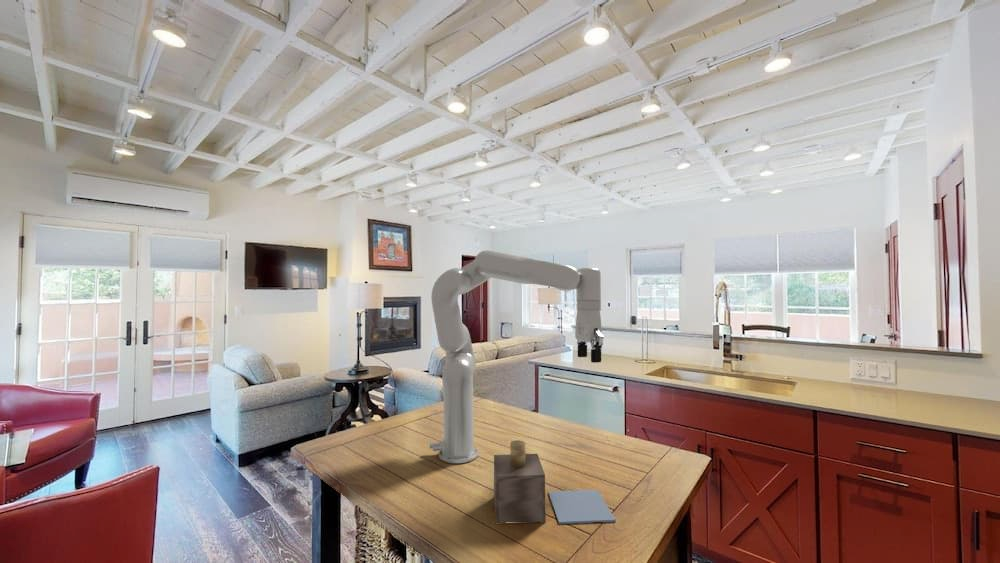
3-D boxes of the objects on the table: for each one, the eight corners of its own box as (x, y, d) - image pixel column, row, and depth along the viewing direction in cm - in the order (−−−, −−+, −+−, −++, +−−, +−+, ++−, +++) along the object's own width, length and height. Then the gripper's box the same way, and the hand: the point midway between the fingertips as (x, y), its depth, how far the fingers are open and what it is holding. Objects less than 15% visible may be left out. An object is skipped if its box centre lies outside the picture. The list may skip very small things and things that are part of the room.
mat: (558, 524, 84) (558, 521, 84) (548, 493, 97) (548, 491, 97) (615, 521, 85) (615, 519, 85) (597, 491, 98) (597, 489, 98)
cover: (496, 524, 84) (495, 453, 85) (494, 497, 95) (493, 435, 96) (545, 522, 85) (544, 452, 85) (537, 495, 96) (537, 434, 96)
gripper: (567, 305, 128) (567, 355, 128) (590, 307, 111) (590, 365, 111) (587, 305, 130) (587, 354, 129) (613, 307, 113) (613, 364, 113)
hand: (589, 359), depth 120 cm, fingers open, 9 cm apart
